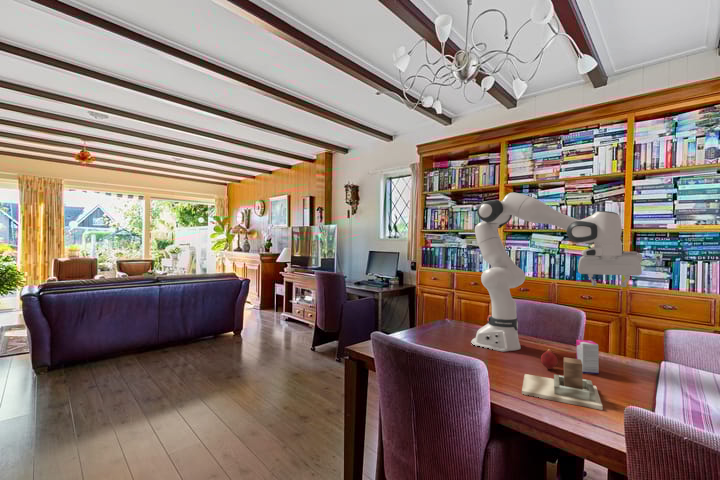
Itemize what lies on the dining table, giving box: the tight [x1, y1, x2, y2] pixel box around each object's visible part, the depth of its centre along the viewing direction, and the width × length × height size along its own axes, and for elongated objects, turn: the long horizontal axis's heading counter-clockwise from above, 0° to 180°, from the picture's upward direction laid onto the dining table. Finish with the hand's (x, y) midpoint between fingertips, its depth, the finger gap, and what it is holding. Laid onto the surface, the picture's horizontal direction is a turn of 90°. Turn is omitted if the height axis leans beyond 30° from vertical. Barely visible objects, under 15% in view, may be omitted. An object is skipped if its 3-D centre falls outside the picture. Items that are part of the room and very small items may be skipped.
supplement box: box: [575, 339, 600, 375], centre depth 130 cm, size 6×6×12 cm
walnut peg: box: [563, 356, 584, 389], centre depth 110 cm, size 5×5×10 cm
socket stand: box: [521, 373, 604, 411], centre depth 112 cm, size 22×16×4 cm
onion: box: [540, 348, 559, 370], centre depth 132 cm, size 6×6×8 cm
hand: (608, 286), depth 131 cm, fingers open, 8 cm apart
